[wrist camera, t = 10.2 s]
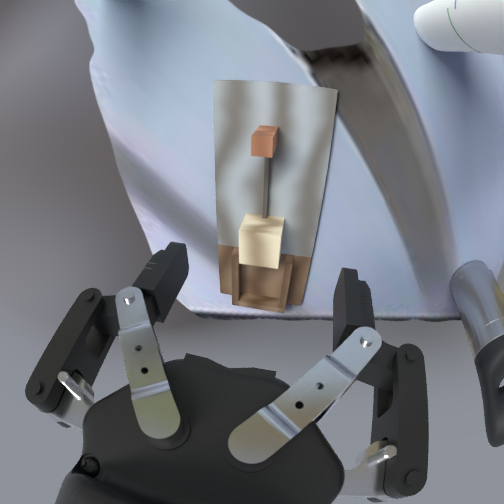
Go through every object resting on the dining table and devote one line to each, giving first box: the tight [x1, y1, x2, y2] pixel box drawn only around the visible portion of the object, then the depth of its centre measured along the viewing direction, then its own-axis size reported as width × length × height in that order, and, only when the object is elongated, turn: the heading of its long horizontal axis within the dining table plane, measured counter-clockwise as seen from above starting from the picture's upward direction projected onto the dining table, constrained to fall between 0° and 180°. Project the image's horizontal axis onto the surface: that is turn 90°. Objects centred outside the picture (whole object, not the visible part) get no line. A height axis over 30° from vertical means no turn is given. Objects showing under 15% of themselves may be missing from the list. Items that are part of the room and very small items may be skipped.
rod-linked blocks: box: [239, 125, 285, 269], centre depth 39 cm, size 6×20×6 cm, turn 179°
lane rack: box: [214, 80, 338, 313], centre depth 43 cm, size 16×39×3 cm, turn 178°
